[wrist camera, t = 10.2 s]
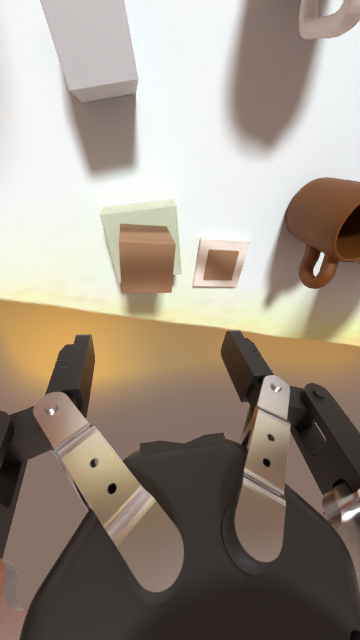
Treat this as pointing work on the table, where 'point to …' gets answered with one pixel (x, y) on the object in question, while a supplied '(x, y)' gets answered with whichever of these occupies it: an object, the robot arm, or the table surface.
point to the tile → (219, 262)
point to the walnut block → (146, 258)
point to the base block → (140, 215)
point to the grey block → (93, 47)
